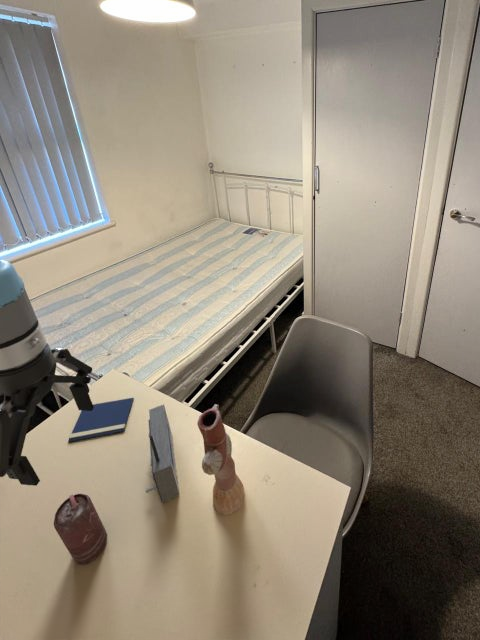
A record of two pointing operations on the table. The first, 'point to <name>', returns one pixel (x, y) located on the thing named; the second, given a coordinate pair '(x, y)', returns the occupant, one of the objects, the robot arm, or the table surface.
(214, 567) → the table surface
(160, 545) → the table surface
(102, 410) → the book
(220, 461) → the vase
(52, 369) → the robot arm
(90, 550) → the can
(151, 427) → the electronic device
